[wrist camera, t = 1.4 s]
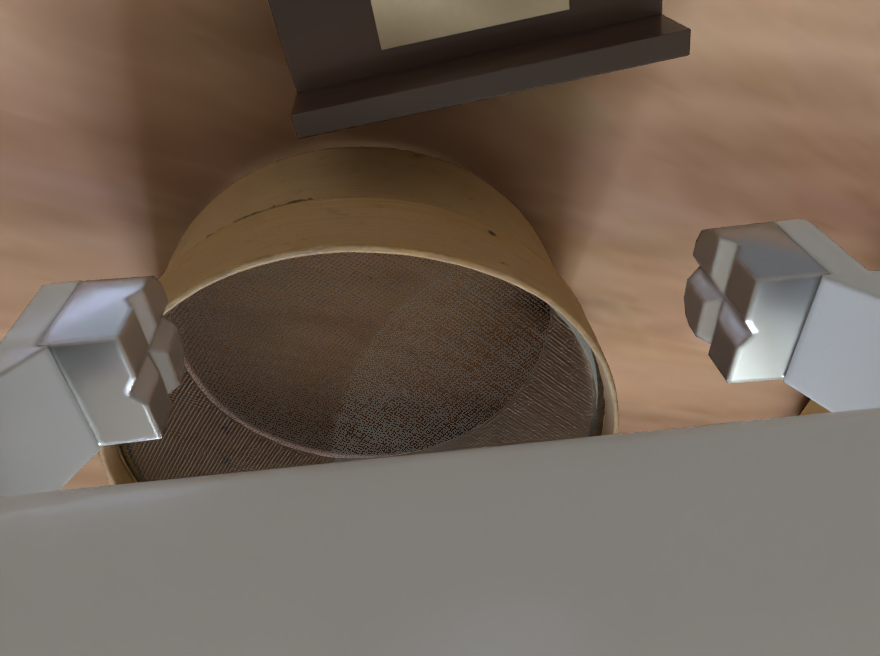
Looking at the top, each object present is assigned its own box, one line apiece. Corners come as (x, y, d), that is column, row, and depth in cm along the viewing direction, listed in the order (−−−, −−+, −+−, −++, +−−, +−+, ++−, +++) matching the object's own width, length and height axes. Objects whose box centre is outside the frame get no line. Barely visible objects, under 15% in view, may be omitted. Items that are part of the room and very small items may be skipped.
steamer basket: (426, 504, 51) (440, 644, 42) (99, 388, 41) (25, 539, 32) (644, 272, 40) (728, 394, 31) (270, 38, 30) (230, 117, 21)
